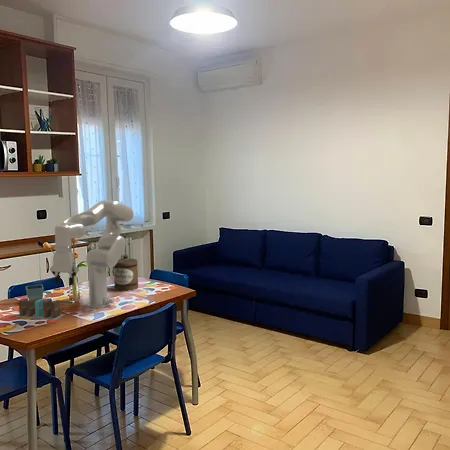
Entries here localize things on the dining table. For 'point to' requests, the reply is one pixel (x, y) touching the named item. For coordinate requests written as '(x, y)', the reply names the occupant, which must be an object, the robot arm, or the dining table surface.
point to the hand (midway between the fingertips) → (64, 284)
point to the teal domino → (39, 307)
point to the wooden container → (126, 274)
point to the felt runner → (40, 317)
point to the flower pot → (34, 292)
